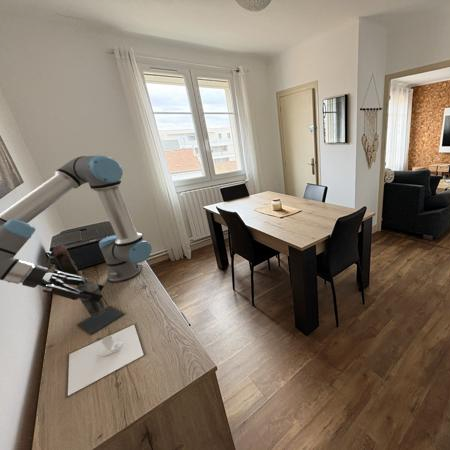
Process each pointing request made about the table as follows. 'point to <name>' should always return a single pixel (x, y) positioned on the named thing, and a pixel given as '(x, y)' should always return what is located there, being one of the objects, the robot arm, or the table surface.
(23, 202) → the robot arm
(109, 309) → the mat
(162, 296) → the table surface
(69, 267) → the statue
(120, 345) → the teacup and saucer
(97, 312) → the beverage cup
